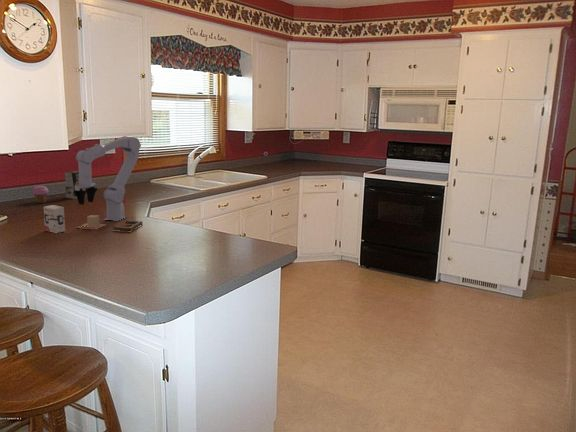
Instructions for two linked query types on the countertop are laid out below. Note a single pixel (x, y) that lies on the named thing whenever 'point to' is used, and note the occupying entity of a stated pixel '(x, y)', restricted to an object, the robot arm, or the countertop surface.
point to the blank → (93, 221)
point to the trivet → (95, 228)
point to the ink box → (54, 218)
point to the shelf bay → (136, 224)
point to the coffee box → (71, 183)
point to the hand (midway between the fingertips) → (86, 203)
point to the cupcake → (40, 193)
